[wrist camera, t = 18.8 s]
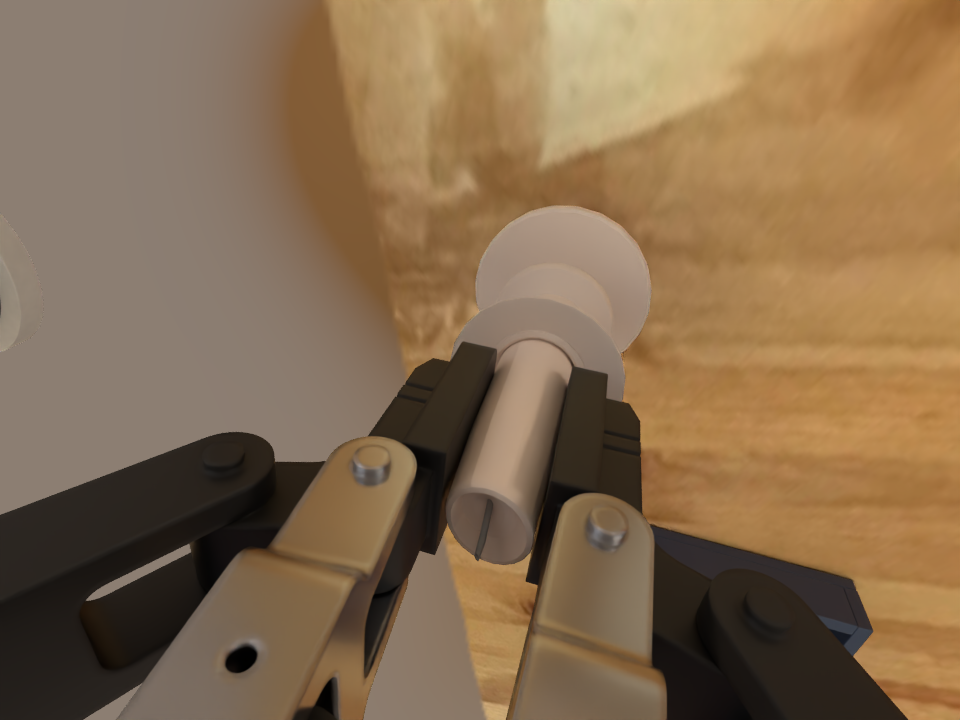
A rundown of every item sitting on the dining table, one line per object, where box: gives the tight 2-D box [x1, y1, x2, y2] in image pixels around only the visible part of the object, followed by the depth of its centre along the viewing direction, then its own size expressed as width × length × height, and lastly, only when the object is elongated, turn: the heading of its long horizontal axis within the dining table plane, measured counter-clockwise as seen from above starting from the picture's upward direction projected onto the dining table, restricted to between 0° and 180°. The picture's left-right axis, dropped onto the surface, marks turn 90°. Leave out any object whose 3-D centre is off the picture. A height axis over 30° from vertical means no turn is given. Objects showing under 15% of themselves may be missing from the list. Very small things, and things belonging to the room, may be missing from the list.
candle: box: [446, 205, 652, 565], centre depth 12 cm, size 5×5×10 cm
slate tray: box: [650, 526, 873, 656], centre depth 27 cm, size 12×12×3 cm
